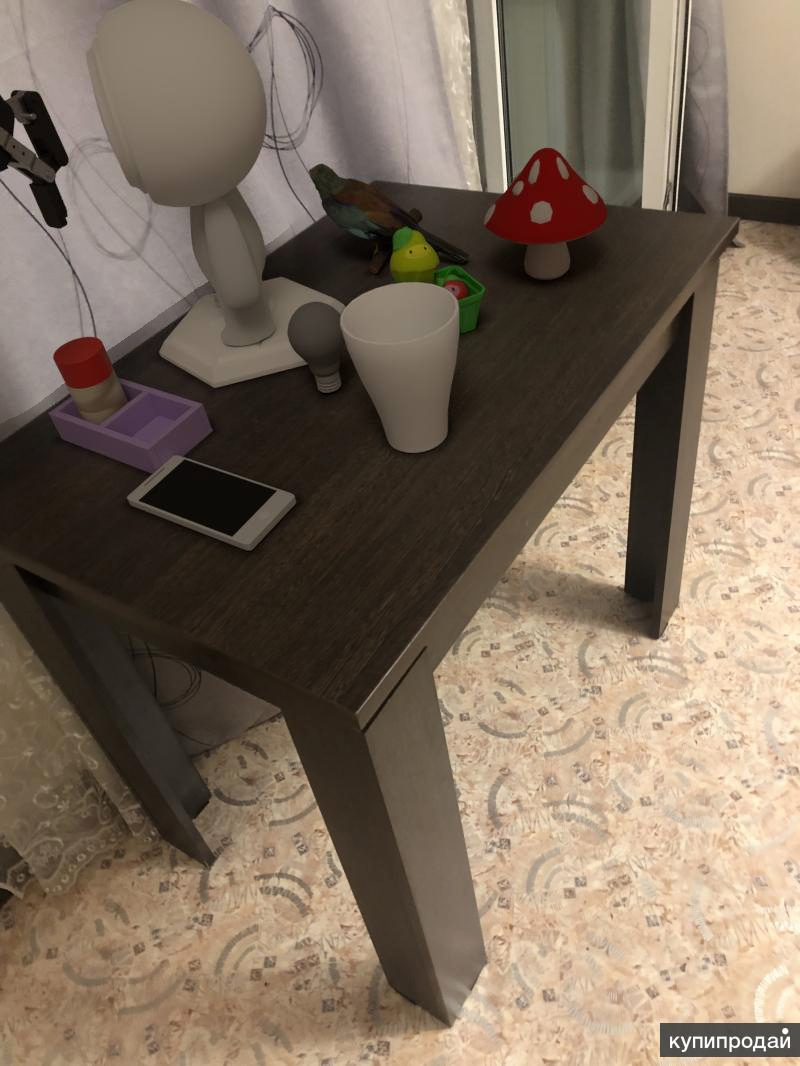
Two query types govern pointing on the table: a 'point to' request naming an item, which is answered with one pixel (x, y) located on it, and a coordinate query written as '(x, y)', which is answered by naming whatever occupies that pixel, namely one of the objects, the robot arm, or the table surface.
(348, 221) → the bird figurine
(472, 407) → the table surface
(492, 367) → the table surface
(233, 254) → the white cartoon figure
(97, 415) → the ivory token
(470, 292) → the fruit basket
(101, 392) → the ivory token
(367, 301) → the cup
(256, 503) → the smartphone
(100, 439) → the purple divided tray
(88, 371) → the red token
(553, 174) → the decorative mushroom
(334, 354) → the light bulb
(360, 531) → the table surface
